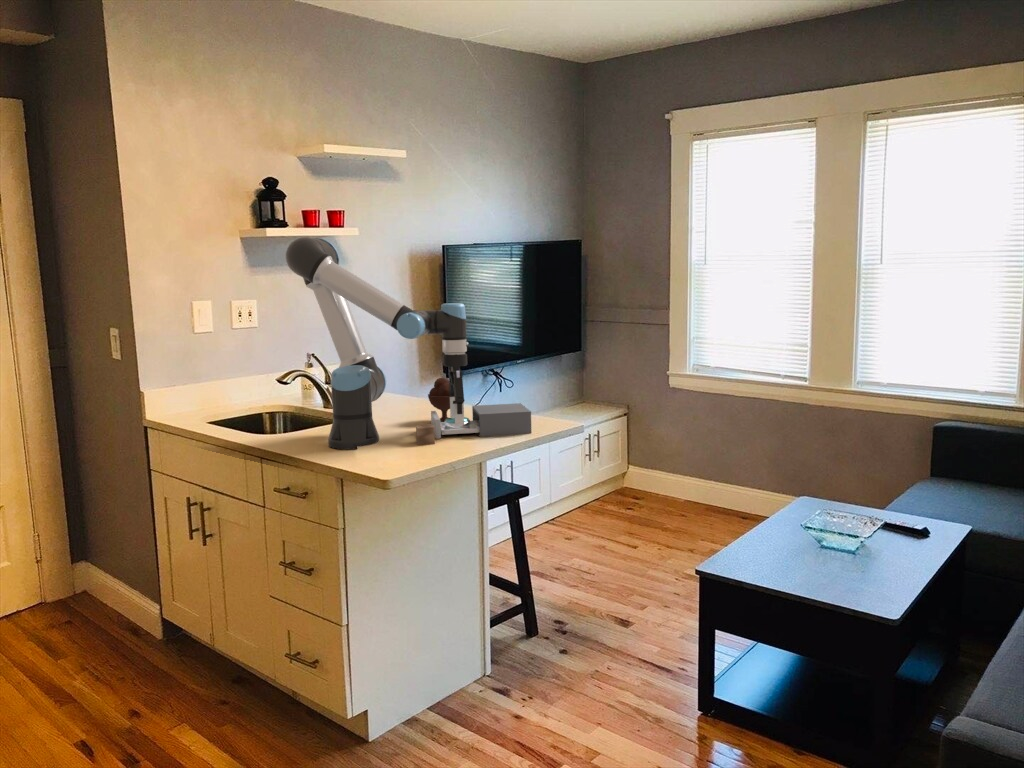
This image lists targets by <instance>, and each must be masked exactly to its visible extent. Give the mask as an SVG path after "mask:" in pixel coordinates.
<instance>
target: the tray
mask: <svg viewBox="0 0 1024 768" xmlns="http://www.w3.org/2000/svg"><path fill="white" fill-rule="evenodd" d="M440 418H441V417H440V416H439V415H438V413H437V410H430V423H431V424H433V426H434V437H435V440H436V439H439V440H440V439H442V436H443V435H458V434H461V435H462V434H474V433H475V434H478V433H479V432H480V425H479V420H474V421H473V420H470V428H467V429H450V430H447V429H445V422H440Z"/></svg>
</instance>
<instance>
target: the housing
mask: <svg viewBox="0 0 1024 768" xmlns="http://www.w3.org/2000/svg"><path fill="white" fill-rule="evenodd" d="M471 409H472V411H471V412H472V421H474V420H479V425H480V432H479V433H477V435H478V437H480V438H482V437H483V438H485V437H500V436H502V437H504V436H514V435H529V434H530V435H531V434H532V411H531V410H530V409H529V408H527V407H526V406H525V405H523V403H521V402H518V403H503V404H502V403H498V404H482V405H472V406H471Z"/></svg>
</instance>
